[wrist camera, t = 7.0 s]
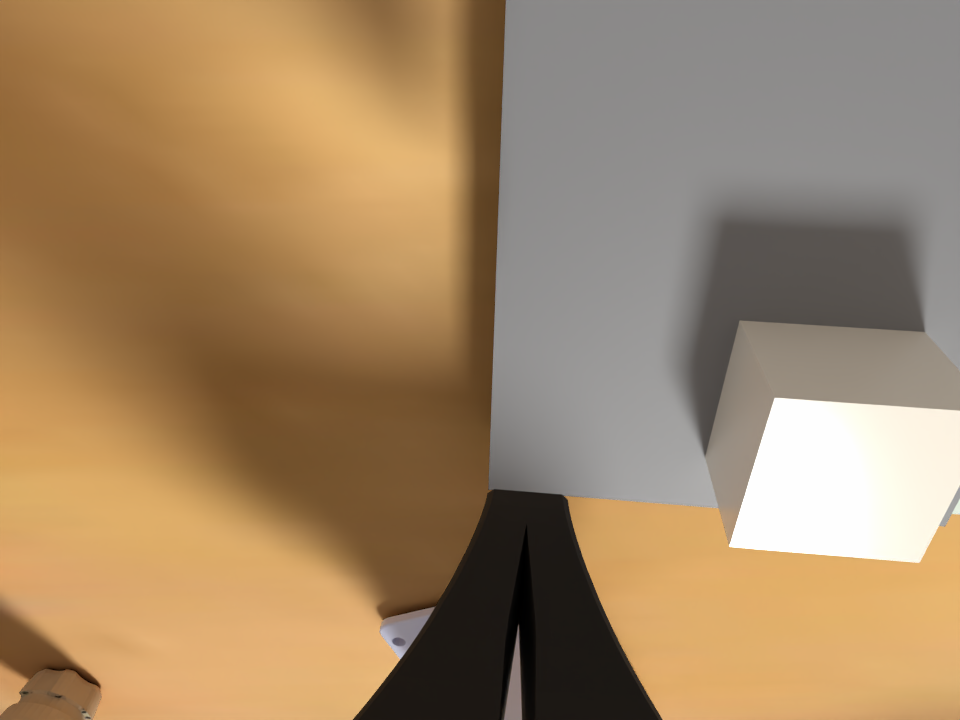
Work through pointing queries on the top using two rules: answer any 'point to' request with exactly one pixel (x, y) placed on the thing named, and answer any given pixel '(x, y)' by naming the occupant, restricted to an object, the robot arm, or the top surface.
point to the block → (835, 440)
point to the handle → (55, 698)
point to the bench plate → (706, 215)
